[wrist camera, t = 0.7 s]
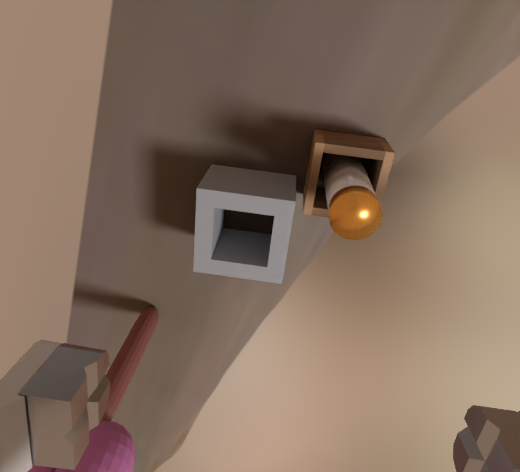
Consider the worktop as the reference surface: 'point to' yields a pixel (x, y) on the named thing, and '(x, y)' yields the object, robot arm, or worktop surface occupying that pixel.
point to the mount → (348, 146)
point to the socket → (238, 241)
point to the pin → (350, 197)
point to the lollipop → (115, 407)
